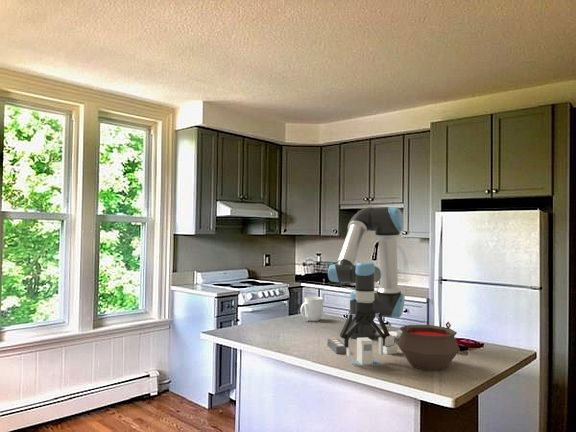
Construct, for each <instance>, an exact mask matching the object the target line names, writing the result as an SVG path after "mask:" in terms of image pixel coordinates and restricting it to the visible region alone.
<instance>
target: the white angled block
mask: <svg viewBox="0 0 576 432" xmlns="http://www.w3.org/2000/svg"><path fill="white" fill-rule="evenodd" d="M380 330H381V331H382V332H383V330H382V329H380ZM383 334H384V332H383ZM389 334H390V336H387V337H386V339H385V346H383V354H385V355H394V354H398V345H397V344H396V345H395V336H394V335H392V334H391V333H389Z"/></svg>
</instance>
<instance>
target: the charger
mask: <svg viewBox="0 0 576 432" xmlns="http://www.w3.org/2000/svg"><path fill="white" fill-rule="evenodd" d="M373 358H374V340H373V339H369V338H368V337H365V338H357V339H356V359H357V361H358V362H360V363H361V364H362V365H363V364H373Z"/></svg>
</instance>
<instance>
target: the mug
mask: <svg viewBox="0 0 576 432" xmlns="http://www.w3.org/2000/svg"><path fill="white" fill-rule="evenodd" d="M303 299H304V302H303V303H302V304H301V306H300V311H299V312H300V314H301V316H302V317H303V318H306V319H307V321H309V322H319V321H320V319H321V318H322V315H323V311H324V310H323V308H324V298H323V297H321V296H305V297H304V298H303ZM303 309H304V311H303Z"/></svg>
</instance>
